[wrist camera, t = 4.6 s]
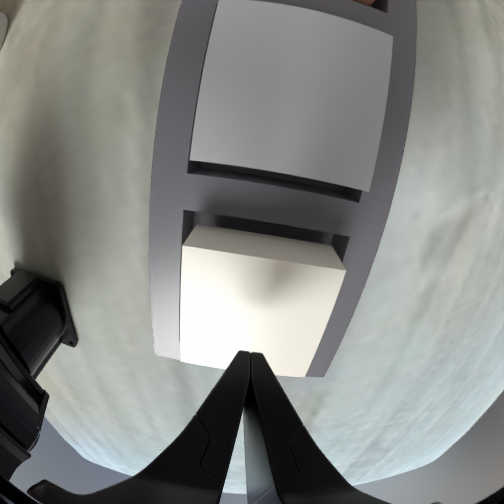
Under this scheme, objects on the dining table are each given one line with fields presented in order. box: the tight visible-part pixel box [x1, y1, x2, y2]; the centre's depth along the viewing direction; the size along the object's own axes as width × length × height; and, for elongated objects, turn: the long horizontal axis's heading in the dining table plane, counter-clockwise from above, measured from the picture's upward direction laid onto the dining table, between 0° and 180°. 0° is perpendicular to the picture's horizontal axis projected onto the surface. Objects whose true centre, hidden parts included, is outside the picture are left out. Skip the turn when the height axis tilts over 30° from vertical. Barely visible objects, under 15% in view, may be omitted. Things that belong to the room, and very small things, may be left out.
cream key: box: [180, 224, 346, 377], centre depth 12 cm, size 6×6×2 cm
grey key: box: [190, 0, 393, 192], centre depth 8 cm, size 6×6×2 cm
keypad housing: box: [149, 0, 417, 377], centre depth 10 cm, size 28×10×3 cm, turn 171°
